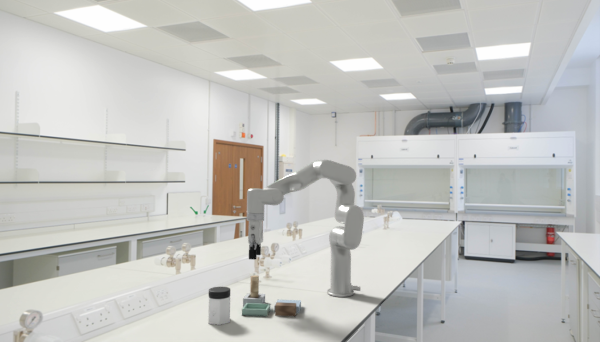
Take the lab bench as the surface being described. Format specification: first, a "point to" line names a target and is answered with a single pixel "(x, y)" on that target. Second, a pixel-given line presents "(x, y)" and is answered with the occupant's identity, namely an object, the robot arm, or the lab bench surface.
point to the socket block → (254, 299)
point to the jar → (219, 305)
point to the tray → (256, 309)
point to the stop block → (285, 309)
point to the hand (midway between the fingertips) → (254, 257)
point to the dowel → (254, 286)
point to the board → (298, 302)
